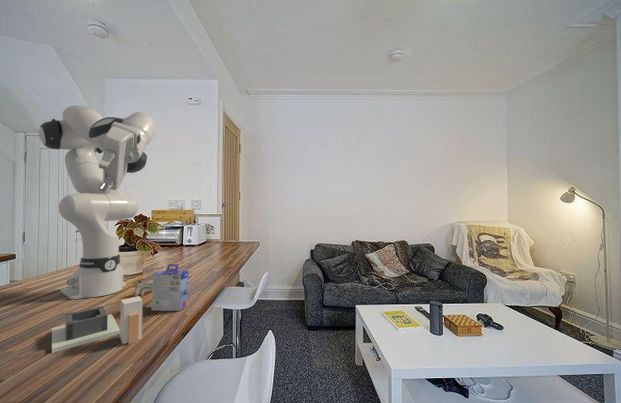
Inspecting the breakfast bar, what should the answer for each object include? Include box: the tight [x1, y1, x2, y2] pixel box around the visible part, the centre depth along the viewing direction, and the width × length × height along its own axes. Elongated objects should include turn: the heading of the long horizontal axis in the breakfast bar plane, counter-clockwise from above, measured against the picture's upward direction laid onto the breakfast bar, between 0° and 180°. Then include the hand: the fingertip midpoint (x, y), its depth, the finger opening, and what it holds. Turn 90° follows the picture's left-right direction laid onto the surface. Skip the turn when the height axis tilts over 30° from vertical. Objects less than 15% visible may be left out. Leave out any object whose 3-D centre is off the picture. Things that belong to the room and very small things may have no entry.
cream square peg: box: [119, 295, 144, 345], centre depth 66 cm, size 5×4×10 cm
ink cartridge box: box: [150, 263, 189, 312], centre depth 86 cm, size 10×6×14 cm, turn 89°
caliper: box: [134, 279, 153, 297], centre depth 105 cm, size 20×1×6 cm, turn 146°
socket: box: [51, 305, 120, 354], centre depth 69 cm, size 14×13×5 cm
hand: (101, 178), depth 68 cm, fingers open, 8 cm apart
